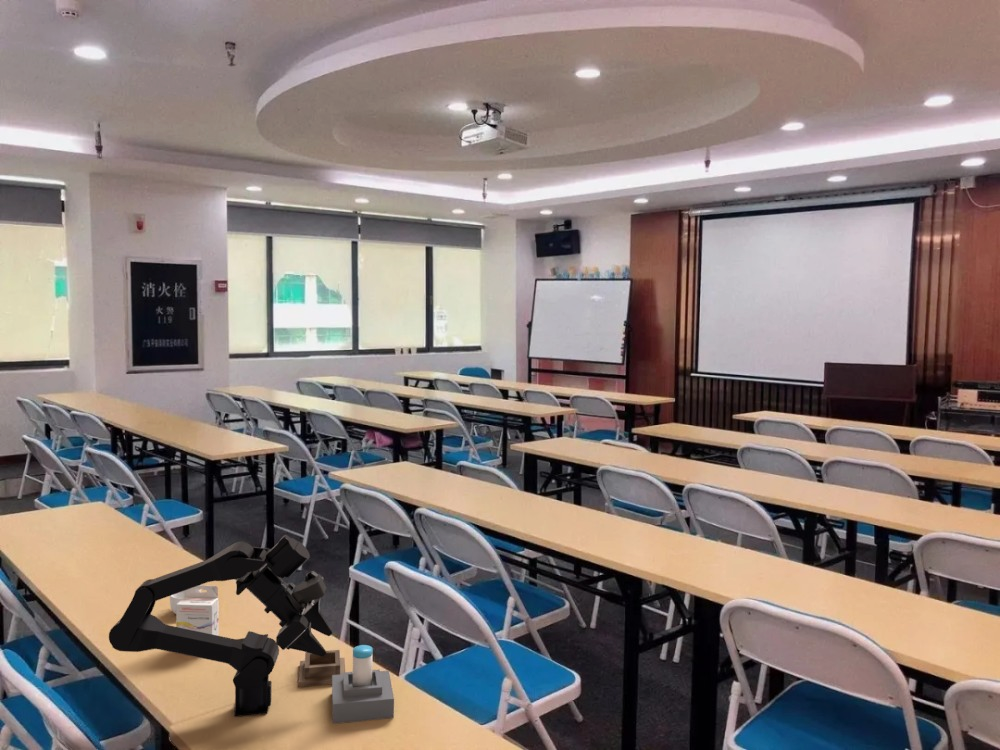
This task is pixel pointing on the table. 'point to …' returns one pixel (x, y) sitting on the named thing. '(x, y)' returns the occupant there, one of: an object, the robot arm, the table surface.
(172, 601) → the teacup
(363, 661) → the plug
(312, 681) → the low dock
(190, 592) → the ink cartridge box
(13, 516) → the table surface
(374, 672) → the upper dock
